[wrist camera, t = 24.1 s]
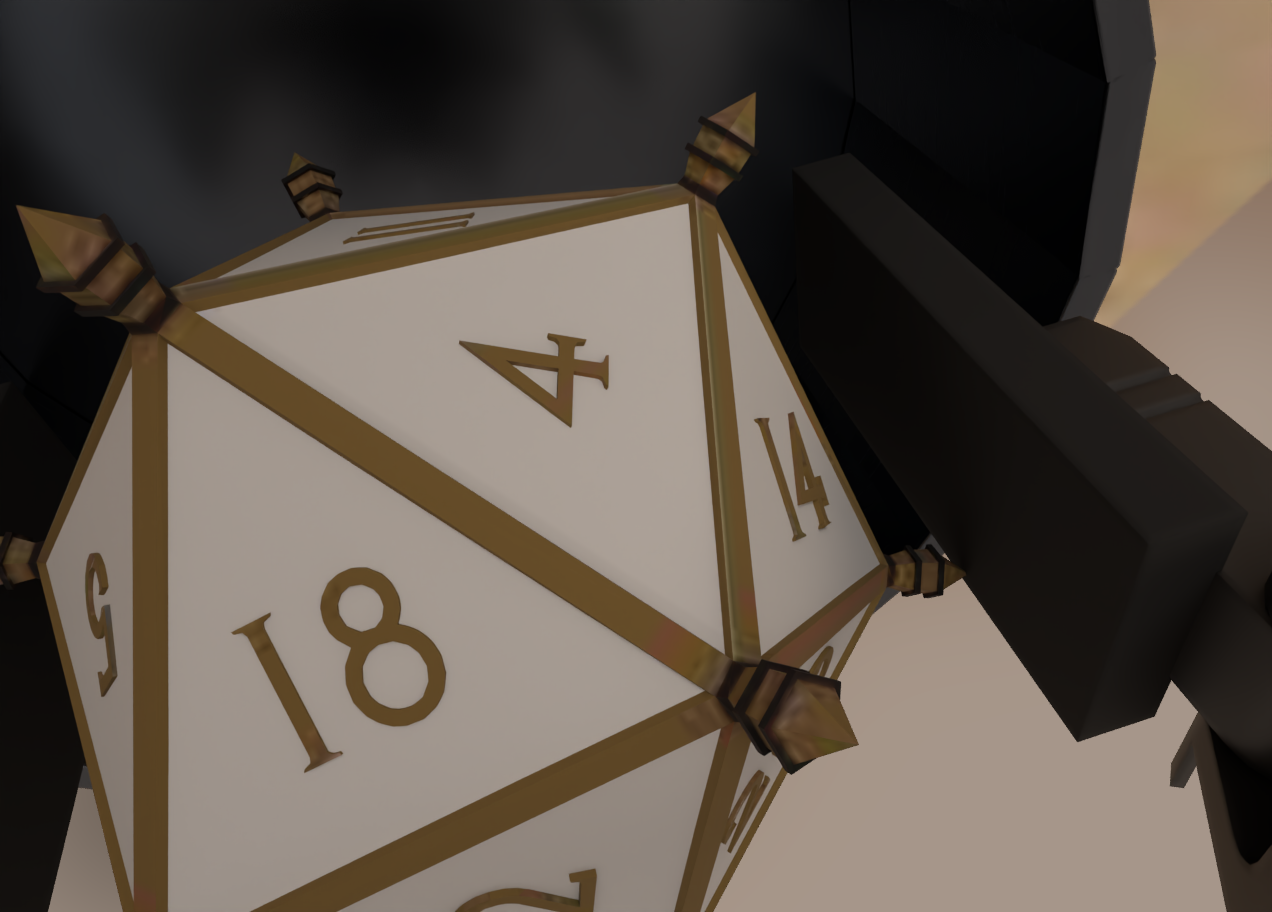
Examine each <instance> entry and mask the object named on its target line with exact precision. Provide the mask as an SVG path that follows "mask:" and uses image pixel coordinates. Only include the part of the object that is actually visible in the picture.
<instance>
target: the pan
mask: <svg viewBox="0 0 1272 912" xmlns="http://www.w3.org/2000/svg"><path fill="white" fill-rule="evenodd" d="M1155 57H1156V50H1155V42H1154V35H1153V28H1152V20H1151V13H1150V6H1149V0H0V384H3V383H7V382H10V381H12V382H13V383H14V385H15V386H16V387H17V388H18V390H19V391H20V392H21V393H22V394H23V396H24V397H25V398H26V399H27V400H28V402H29V403H30V404H31V405H32V407H33V408H34V409H35V410H36V411H37V413H38V414H39V415H40V416H41V417H42V419H43V420H44V421H45V422H46V424H47V425H48V426H49V427H50V428H51V430H52V431H53V432H54V433H55V434H56V436H57V437H58V438H59V439H60V441H61V442H62V443H63V444H64V445H65V447H66V448H67V449H68V450H69V451H70V453H71V454H72V455H73V456H74V458H75V459H76V460H77V461H78V459H79V456H80V454H81V451H82V449H83V446H84V444H85V441H86V439H87V437H88V434H89V432H90V429H91V427H92V424H93V422H94V419H95V417H96V414H97V412H98V409H99V407H100V405H101V402H102V400H103V397H104V395H105V392H106V390H107V387H108V385H109V382H110V380H111V377H112V375H113V372H114V370H115V368H116V365H117V363H118V360H119V358H120V355H121V353H122V350H123V348H124V345H125V343H126V340H127V338H128V336H129V333H130V332H129V331H128V330H127V329H126V327H125V326H124V325H123V324H122V323H121V322H118V321H115V320H113V319H110V318H107V317H104V316H93V317H82V316H81V315H79V314H78V313H76V312H74V309H75V307H76V304H77V303H76V302H74V301H73V300H71V299H70V298H68V297H66V296H65V295H63V294H62V293H60V292H59V293H44V292H42V291H41V290H39V289H37V288H36V286H37V284H38V282H39V279H40V277H41V273H40V270H39V267H38V264H37V262H36V259H35V256H34V253H33V251H32V248H31V245H30V243H29V240H28V237H27V234H26V232H25V229H24V226H23V223H22V221H21V218H20V215H19V212H18V210H17V207H16V205H19V206H24V207H30V208H35V209H41V210H47V211H52V212H58V213H64V214H69V215H75V216H81V217H86V218H92V219H95V218H97V217H99V216H100V215H102V214H103V213H106V214H107V215H108V216H109V217H110V218H111V219H112V220H113V222H114V224H115V226H116V228H117V230H118V232H119V234H120V235H121V237H122V239H123V241H124V242H126V243H127V244H128V245H129V246H130V245H131V244H133V243H135V242H137V243H138V244H139V245H140V246H141V247H142V248H143V249H144V251H145V252H146V254H147V256H148V258H149V260H150V262H151V263H152V265H153V267H154V269H155V271H156V274H155V275H154V277H155V278H156V280H157V281H158V282H159V283H161V284H163V285H165V286H167V287H168V288H171V287H173V286H175V285H178V284H180V283H182V282H184V281H186V280H188V279H190V278H192V277H195V276H197V275H199V274H201V273H203V272H205V271H207V270H209V269H212V268H214V267H216V266H218V265H220V264H222V263H224V262H226V261H229V260H231V259H233V258H235V257H237V256H239V255H241V254H243V253H246V252H248V251H250V250H252V249H254V248H256V247H258V246H260V245H263V244H265V243H267V242H269V241H271V240H273V239H275V238H277V237H280V236H282V235H284V234H286V233H288V232H290V231H292V230H294V229H297V228H299V227H301V226H303V225H305V224H307V223H309V220H308V219H307V218H301V217H300V215H299V213H298V211H297V209H296V208H295V206H294V204H293V202H292V200H291V198H290V196H289V194H288V192H287V190H286V188H285V187H284V185H283V183H282V181H281V179H283V178H285V177H286V176H287V175H288V172H289V168H290V165H291V162H292V158H293V155H294V152H295V153H297V154H298V155H300V156H302V157H303V158H305V159H307V160H309V161H310V162H312V163H314V164H315V165H317V166H320V167H323V168H326V169H329V170H332V171H334V172H335V174H336V176H335V178H334V179H333V183H334V185H335V188H338V189H341V190H342V193H343V194H342V196H341V198H340V200H339V210H340V212H346V211H357V210H369V209H381V208H393V207H405V206H416V205H428V204H440V203H452V202H464V201H476V200H487V199H499V198H511V197H523V196H535V195H546V194H558V193H570V192H582V191H594V190H606V189H617V188H629V187H641V186H653V185H665V184H676V183H678V182H679V181H680V180H681V179H682V177H683V176H684V175H685V171H686V167H687V162H688V158H689V153H690V152H689V151H687V150H686V149H685V147H686V145H687V143H690V144H692V145H693V144H694V142H695V140H696V138H697V136H698V134H699V132H700V130H701V128H702V126H703V125H702V124H700V123H699V122H698V120H699V118H700V116H703V117H705V118H709V117H711V116H713V115H715V114H716V113H718V112H720V111H722V110H724V109H726V108H727V107H729V106H731V105H733V104H735V103H737V102H738V101H740V100H742V99H744V98H746V97H748V96H749V95H751V94H753V93H755V92H756V101H755V144H754V148H756V149H757V150H759V153H758V155H757V156H756V157H755V156H751V155H750V156H749V158H748V159H747V161H746V162H745V164H744V166H743V167H742V169H741V170H740V172H739V174H741V175H743V177H742V179H741V180H740V182H738V181H736V180H733V181H732V182H731V183H730V184H729V185H728V186H727V187H726V188H725V189H724V190H723V191H722V192H721V193H720V194H719V195H718V196H717V200H716V204H715V208H716V210H717V212H718V214H719V216H720V218H721V220H722V222H723V224H724V226H725V228H726V231H727V233H728V235H729V237H730V239H731V241H732V243H733V245H734V247H735V249H736V251H737V253H738V255H739V257H740V260H741V262H742V264H743V266H744V268H745V270H746V272H747V274H748V276H749V278H750V280H751V282H752V284H753V286H754V289H755V291H756V293H757V295H758V297H759V299H760V301H761V303H762V305H763V307H764V309H765V311H766V313H767V315H768V318H769V320H770V322H771V324H772V326H773V328H774V330H775V332H776V334H777V336H778V338H779V340H780V342H781V344H782V347H783V349H784V351H785V353H786V355H787V357H788V359H789V361H790V363H791V365H792V367H793V369H794V371H795V373H796V376H797V378H798V380H799V382H800V384H801V386H802V388H803V390H804V392H805V394H806V396H807V398H808V400H809V402H810V405H811V407H812V409H813V411H814V413H815V415H816V417H817V419H818V421H819V423H820V425H821V427H822V429H823V431H824V434H825V436H826V438H827V440H828V442H829V444H830V446H831V448H832V450H833V452H834V454H835V456H836V458H837V460H838V462H839V465H840V467H841V469H842V471H843V473H844V475H845V477H846V479H847V481H848V483H849V485H850V487H851V489H852V491H853V494H854V496H855V498H856V500H857V502H858V504H859V506H860V508H861V510H862V512H863V514H864V516H865V518H866V520H867V523H868V525H869V527H870V529H871V531H872V533H873V535H874V537H875V539H876V541H877V543H878V545H879V547H880V549H881V552H882V554H886V555H892V554H895V553H898V552H901V551H903V549H904V546H905V545H910V546H911V547H912V548H913V549H914V550H921V549H925V547H926V545H927V544H932V545H933V547H934V548H935V549H936V550H937V551H938V553H939V554H940V555H941V556H942V555H943V554H944V551H943V550H942V548H941V547H940V545H939V544H938V543H937V541H936V540H935V538H934V537H933V535H932V534H931V533H930V531H929V530H928V528H927V527H926V525H925V524H924V523H923V521H922V520H921V518H920V517H919V515H918V514H917V513H916V511H915V510H914V508H913V507H912V505H911V504H910V503H909V501H908V500H907V498H906V497H905V495H904V494H903V493H902V491H901V490H900V488H899V487H898V486H897V484H896V483H895V481H894V480H893V478H892V477H891V476H890V474H889V473H888V471H887V470H886V468H885V467H884V466H883V464H882V463H881V461H880V460H879V458H878V457H877V456H876V454H875V453H874V451H873V450H872V448H871V447H870V446H869V444H868V443H867V441H866V440H865V438H864V437H863V436H862V434H861V433H860V431H859V430H858V428H857V427H856V426H855V424H854V423H853V421H852V420H851V418H850V417H849V416H848V414H847V413H846V411H845V410H844V408H843V407H842V406H841V404H840V403H839V401H838V400H837V398H836V397H835V396H834V394H833V393H832V391H831V390H830V388H829V387H828V386H827V384H826V383H825V381H824V380H823V378H822V377H821V376H820V374H819V373H818V371H817V370H816V368H815V367H814V366H813V364H812V363H811V361H810V360H809V358H808V357H807V356H806V354H805V353H804V351H803V350H802V349H801V347H800V346H799V322H798V298H797V274H796V250H795V227H794V203H793V179H792V168H795V167H798V166H802V165H806V164H809V163H813V162H817V161H820V160H824V159H828V158H831V157H835V156H839V155H842V154H846V153H851V154H852V155H853V156H854V157H855V158H856V159H857V160H858V161H860V162H861V163H862V164H863V165H864V166H865V167H866V168H867V169H868V170H869V171H871V172H872V173H873V174H874V175H875V176H876V177H877V178H878V179H879V180H881V181H882V182H883V183H884V184H885V185H886V186H887V187H888V188H889V189H891V190H892V191H893V192H894V193H895V194H896V195H897V196H898V197H899V198H901V199H902V200H903V201H904V202H905V203H906V204H907V205H908V206H909V207H910V208H912V209H913V210H914V211H915V212H916V213H917V214H918V215H919V216H920V217H922V218H923V219H924V220H925V221H926V222H927V223H928V224H929V225H930V226H932V227H933V228H934V229H935V230H936V231H937V232H938V233H939V234H940V235H942V236H943V237H944V238H945V239H946V240H947V241H948V242H949V243H950V244H952V245H953V246H954V247H955V248H956V249H957V250H958V251H959V252H960V253H961V254H963V255H964V256H965V257H966V258H967V259H968V260H969V261H970V262H971V263H973V264H974V265H975V266H976V267H977V268H978V269H979V270H980V271H981V272H983V273H984V274H985V275H986V276H987V277H988V278H989V279H990V280H991V281H993V282H994V283H995V284H996V285H997V286H998V287H999V288H1000V289H1001V290H1003V291H1004V292H1005V293H1006V294H1007V295H1008V296H1009V297H1010V298H1011V299H1012V300H1014V301H1015V302H1016V303H1017V304H1018V305H1019V306H1020V307H1021V308H1022V309H1024V310H1025V311H1026V312H1027V313H1028V314H1029V315H1030V316H1031V317H1032V318H1034V319H1035V320H1036V321H1037V322H1038V323H1039V324H1040V325H1041V326H1042V327H1043V326H1047V325H1050V324H1053V323H1057V322H1060V321H1064V320H1067V319H1070V318H1074V317H1077V316H1082V317H1085V318H1087V319H1089V320H1092V321H1094V319H1095V317H1096V315H1097V313H1098V311H1099V308H1100V306H1101V304H1102V302H1103V300H1104V298H1105V296H1106V294H1107V292H1108V290H1109V287H1110V285H1111V283H1112V281H1113V279H1114V277H1115V275H1116V272H1117V269H1116V268H1118V267H1119V266H1120V262H1121V256H1122V251H1123V245H1124V240H1125V234H1126V228H1127V223H1128V217H1129V211H1130V206H1131V200H1132V194H1133V189H1134V183H1135V178H1136V172H1137V166H1138V161H1139V155H1140V149H1141V144H1142V138H1143V132H1144V127H1145V121H1146V116H1147V110H1148V104H1149V99H1150V93H1151V87H1152V82H1153V76H1154V70H1155V65H1156V61H1155V59H1154V58H1155ZM899 592H900V591H898V590H895V589H892V588H889V587H887V588H886V589H885V591H884V593H883V595H882V597H881V599H880V600H879V602H878V604H877V606H876V608H875V610H874V612H876V611H877V610H878V609H879V608H881V607H882V606H883V605H884V604H886V603H887V602H888V601H889V600H890V599H892V598H893V597H894V596H895V595H896V594H898V593H899ZM874 612H873V613H874ZM873 613H872V614H873ZM78 787H79V788H87V789H93V788H92V784H91V780H90V776H89V772H88V768H87V764H86V760H85V762H84V766H83V770H82V774H81V778H80V782H79V786H78Z"/></svg>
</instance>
